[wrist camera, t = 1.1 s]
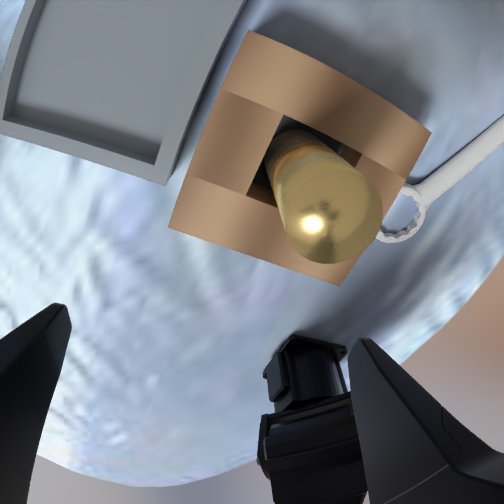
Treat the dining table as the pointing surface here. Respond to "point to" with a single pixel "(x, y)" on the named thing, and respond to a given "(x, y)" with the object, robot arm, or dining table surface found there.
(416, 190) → the wrench
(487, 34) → the dining table surface
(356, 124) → the pin block
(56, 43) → the tray
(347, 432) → the robot arm
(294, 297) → the dining table surface
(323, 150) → the brass pin
